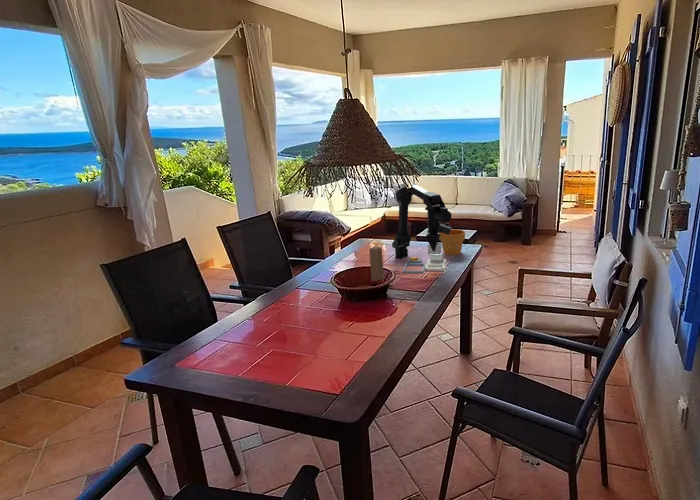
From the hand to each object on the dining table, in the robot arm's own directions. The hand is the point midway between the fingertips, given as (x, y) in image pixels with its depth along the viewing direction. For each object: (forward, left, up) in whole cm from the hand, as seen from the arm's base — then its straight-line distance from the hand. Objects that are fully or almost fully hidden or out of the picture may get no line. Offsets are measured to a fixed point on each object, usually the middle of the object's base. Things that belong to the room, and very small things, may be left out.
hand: (434, 250), depth 215 cm
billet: (0, 0, -2) cm, 2 cm away
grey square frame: (-12, +11, -11) cm, 19 cm away
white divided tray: (0, +5, -11) cm, 12 cm away
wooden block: (-23, -22, -11) cm, 34 cm away
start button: (-12, +11, -10) cm, 19 cm away
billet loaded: (0, +9, -10) cm, 14 cm away
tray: (-10, -1, -11) cm, 15 cm away
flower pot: (+7, +29, -11) cm, 32 cm away
